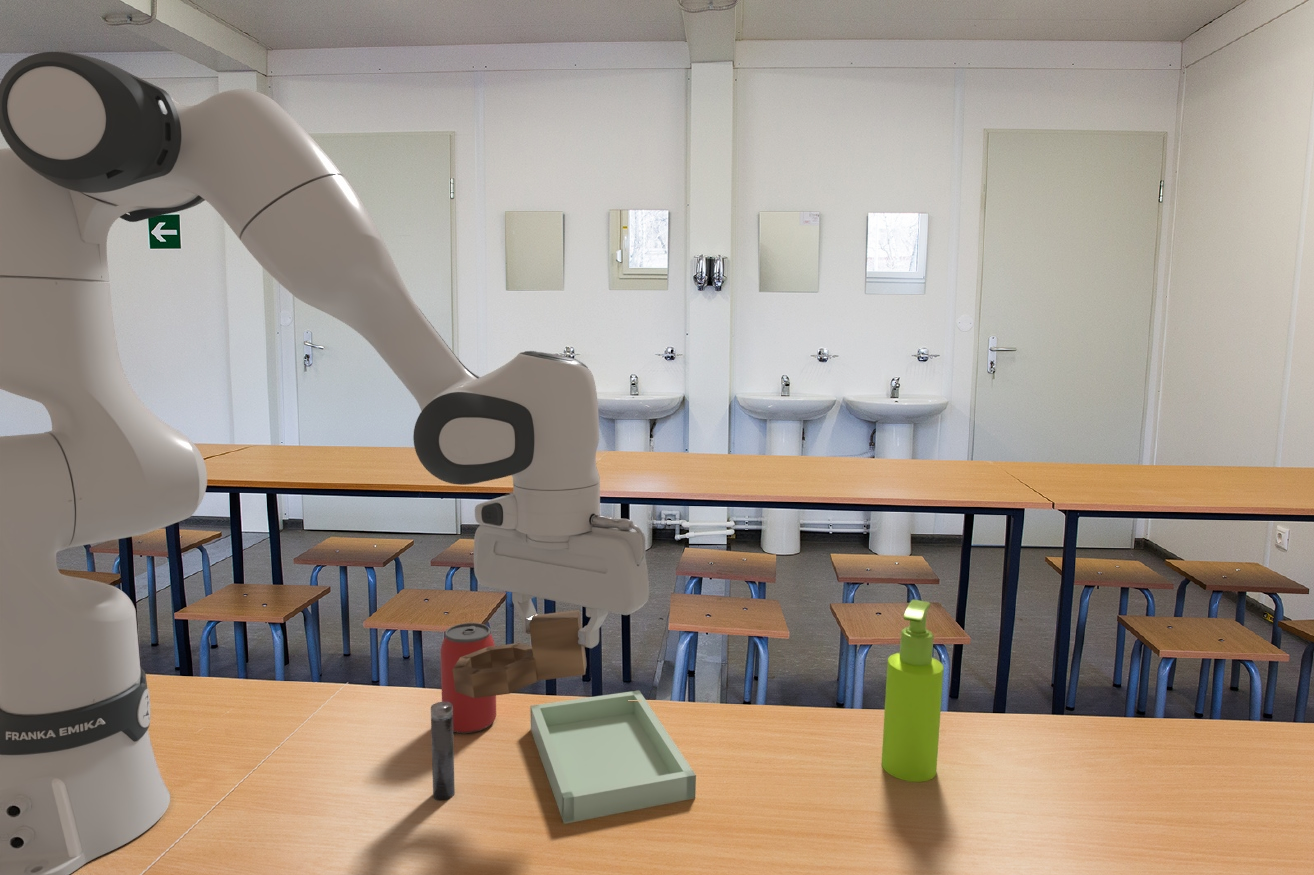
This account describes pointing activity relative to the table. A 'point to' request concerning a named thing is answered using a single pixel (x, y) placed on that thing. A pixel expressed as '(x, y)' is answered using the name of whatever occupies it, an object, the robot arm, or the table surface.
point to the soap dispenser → (913, 702)
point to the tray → (608, 756)
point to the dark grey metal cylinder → (442, 750)
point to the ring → (524, 658)
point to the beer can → (455, 645)
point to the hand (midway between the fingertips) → (559, 638)
